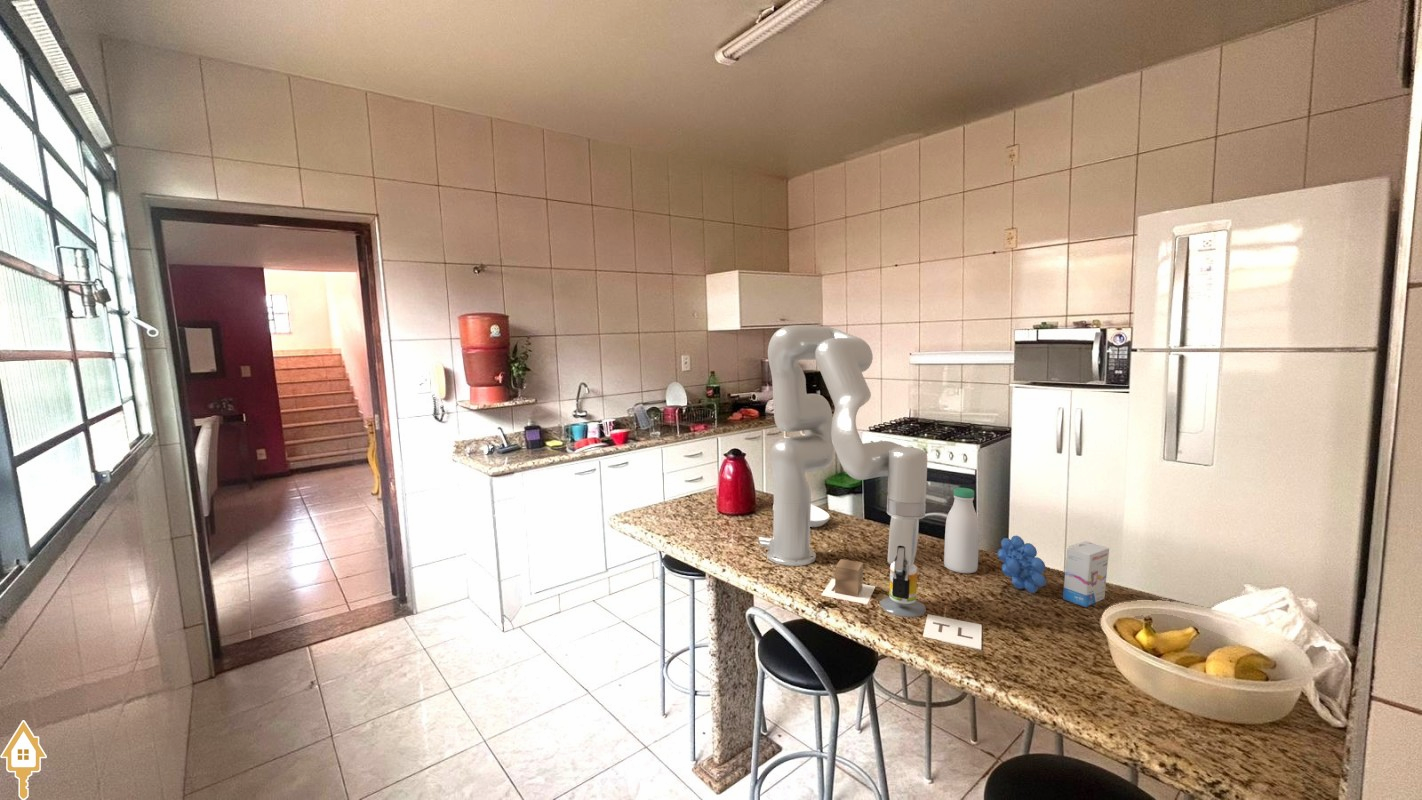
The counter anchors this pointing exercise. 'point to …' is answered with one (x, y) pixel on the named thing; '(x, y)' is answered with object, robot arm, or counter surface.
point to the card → (953, 631)
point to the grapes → (1022, 564)
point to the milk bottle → (962, 534)
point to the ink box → (1085, 573)
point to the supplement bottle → (912, 585)
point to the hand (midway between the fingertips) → (902, 590)
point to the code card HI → (862, 597)
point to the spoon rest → (817, 516)
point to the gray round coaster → (903, 608)
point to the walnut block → (848, 577)
